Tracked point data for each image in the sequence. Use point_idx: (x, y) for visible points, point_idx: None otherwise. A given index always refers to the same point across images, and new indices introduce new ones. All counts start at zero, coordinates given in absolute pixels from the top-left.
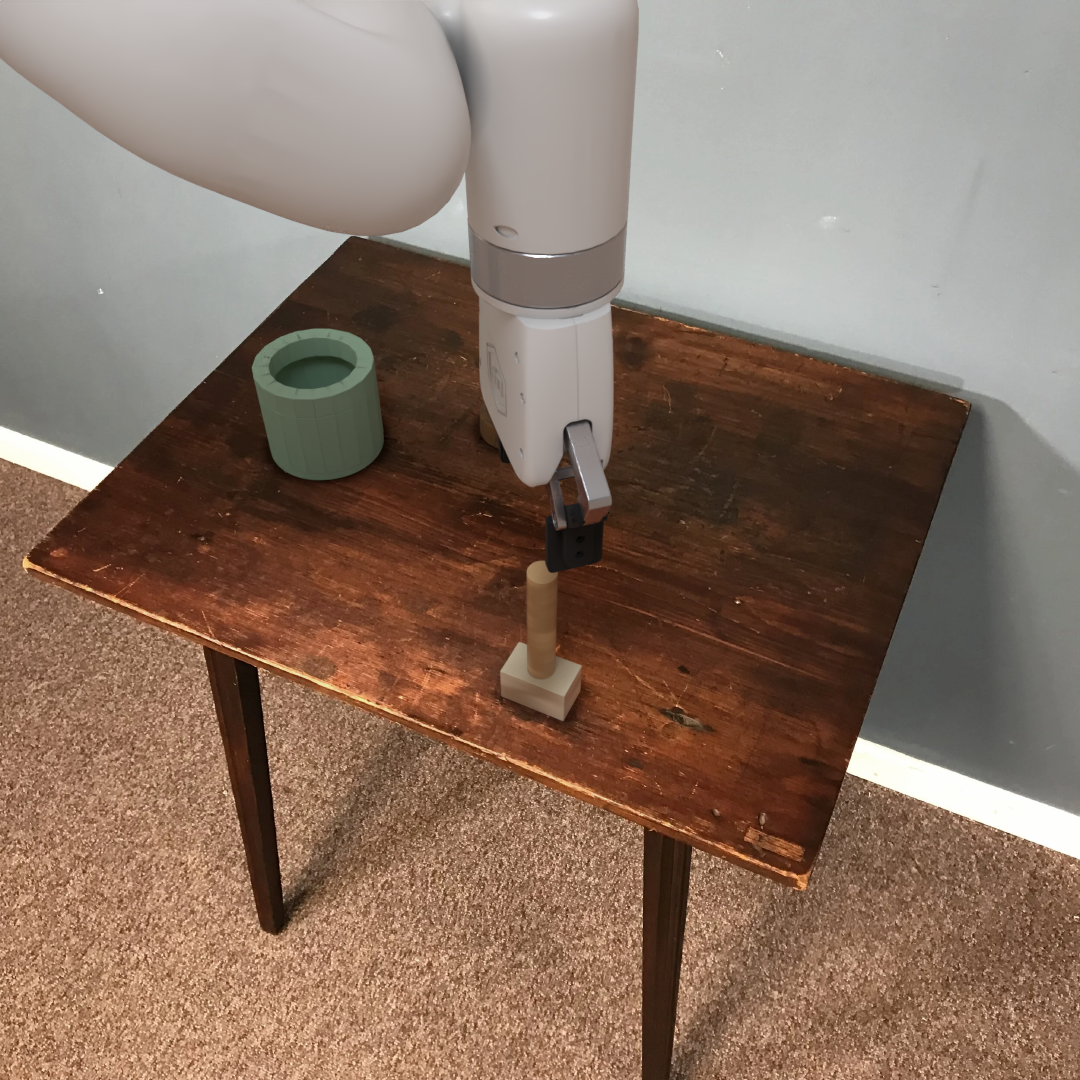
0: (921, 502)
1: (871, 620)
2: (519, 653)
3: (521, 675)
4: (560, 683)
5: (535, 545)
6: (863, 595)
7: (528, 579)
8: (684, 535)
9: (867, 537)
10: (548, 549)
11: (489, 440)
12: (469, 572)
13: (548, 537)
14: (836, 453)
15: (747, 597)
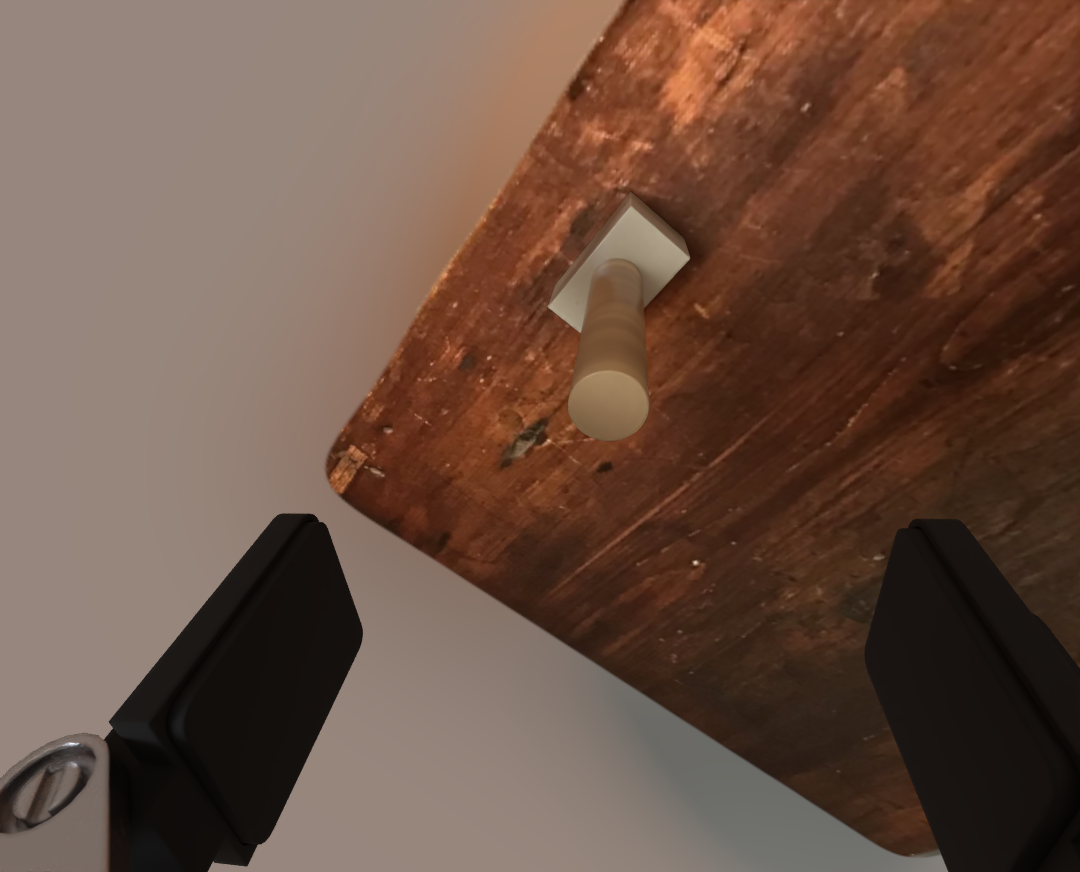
0: (767, 767)
1: (617, 663)
2: (661, 252)
3: (609, 244)
4: (575, 307)
5: (962, 336)
6: (654, 671)
7: (598, 368)
8: (849, 550)
9: (739, 710)
10: (214, 592)
11: None
12: (965, 189)
13: (176, 644)
14: (896, 744)
15: (699, 575)
